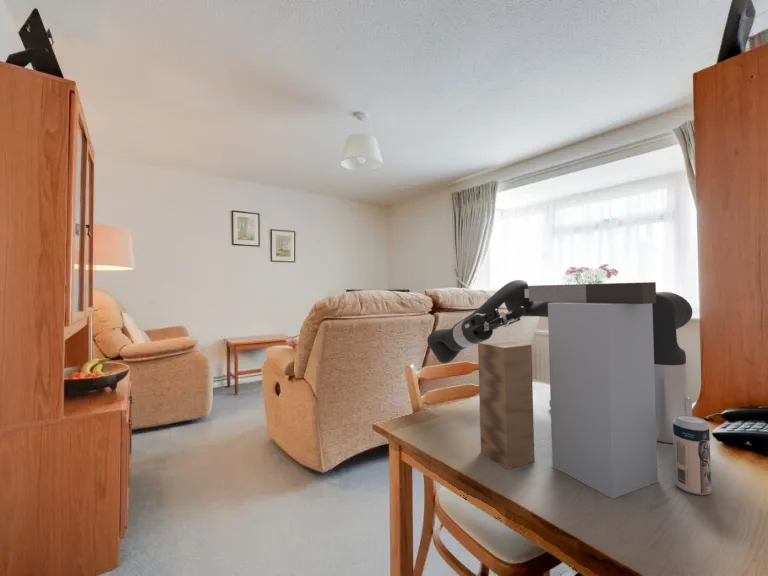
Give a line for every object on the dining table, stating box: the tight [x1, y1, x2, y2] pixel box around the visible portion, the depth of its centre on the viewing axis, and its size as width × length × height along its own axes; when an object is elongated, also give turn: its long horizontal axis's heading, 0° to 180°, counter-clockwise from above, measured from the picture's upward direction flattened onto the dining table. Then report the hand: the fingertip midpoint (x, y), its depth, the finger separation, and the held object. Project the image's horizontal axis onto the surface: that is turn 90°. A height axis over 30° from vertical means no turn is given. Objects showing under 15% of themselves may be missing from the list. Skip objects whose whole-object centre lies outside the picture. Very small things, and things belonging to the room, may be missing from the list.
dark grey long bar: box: [525, 281, 657, 304], centre depth 70 cm, size 26×4×4 cm, turn 23°
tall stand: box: [547, 302, 659, 500], centre depth 66 cm, size 12×12×32 cm
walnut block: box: [477, 339, 536, 470], centre depth 74 cm, size 8×7×24 cm
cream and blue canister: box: [672, 415, 712, 496], centre depth 61 cm, size 5×5×12 cm
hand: (511, 311), depth 86 cm, fingers open, 8 cm apart
